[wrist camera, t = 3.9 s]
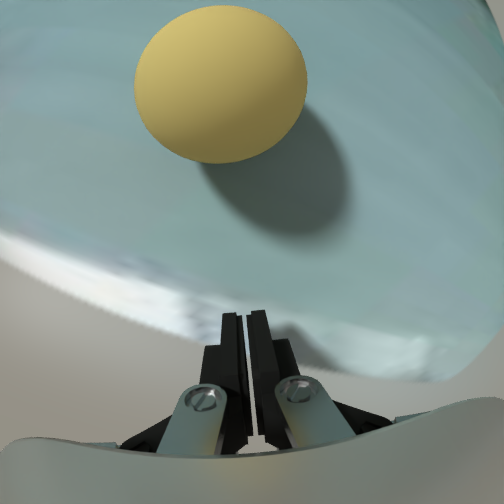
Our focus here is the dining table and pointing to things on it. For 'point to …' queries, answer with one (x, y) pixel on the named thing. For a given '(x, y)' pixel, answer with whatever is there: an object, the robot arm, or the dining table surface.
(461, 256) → the dining table surface
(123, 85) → the dining table surface
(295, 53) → the ochre ball
